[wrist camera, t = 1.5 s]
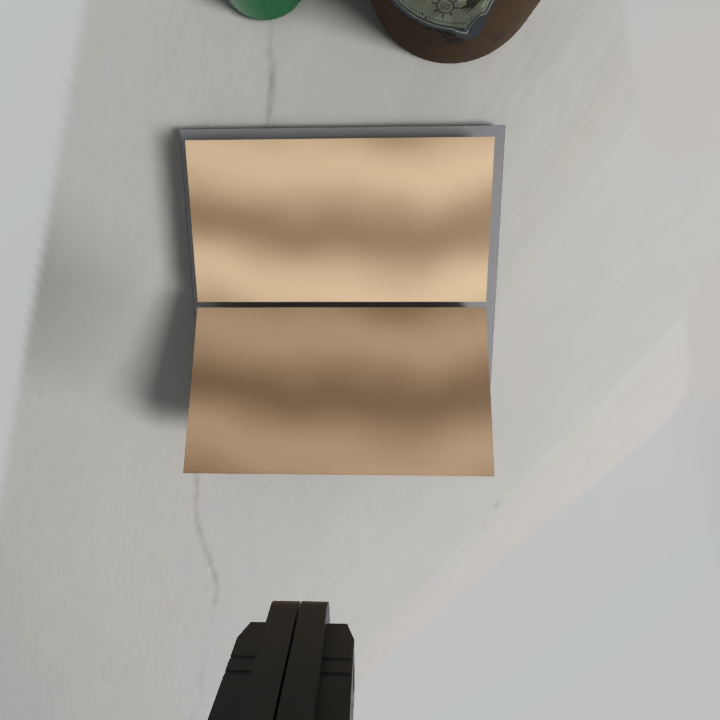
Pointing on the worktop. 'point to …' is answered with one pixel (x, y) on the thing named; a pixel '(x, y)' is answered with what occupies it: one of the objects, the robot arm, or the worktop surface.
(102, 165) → the worktop surface
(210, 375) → the brown wooden board
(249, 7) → the soda can
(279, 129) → the gray flat board
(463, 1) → the brown bottle
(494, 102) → the worktop surface
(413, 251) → the oak plank
